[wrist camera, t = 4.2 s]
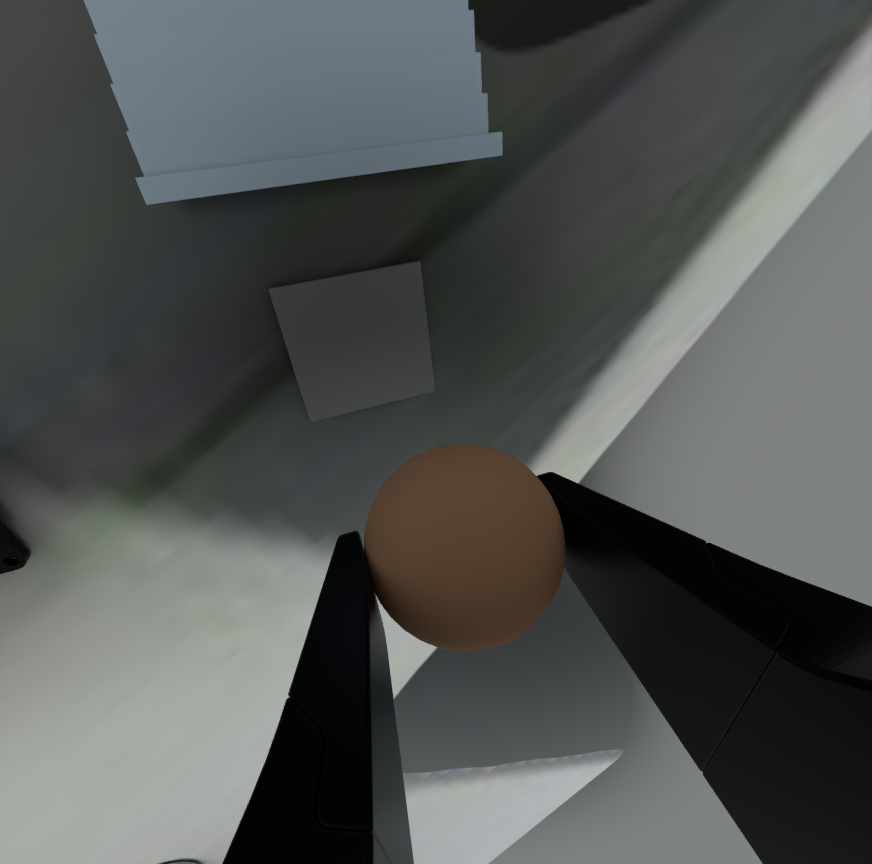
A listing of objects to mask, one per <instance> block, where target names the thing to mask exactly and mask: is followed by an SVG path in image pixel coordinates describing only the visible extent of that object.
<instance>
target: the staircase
mask: <svg viewBox="0 0 872 864" xmlns="http://www.w3.org/2000/svg"><path fill="white" fill-rule="evenodd" d="M84 2H85V5H86V7H87V10H88V12H89V15H90V17H91V20H92V22H93V25H94V27H95V30H96V32H97V34H94V36H95V39H96V41H97V44H98V46H99V49H100V51H101V54H102V56H103V59H104V61H105V64H106V66H107V68H108V71H109V73H110V76H111V78H112V81H113V83H114V84H110V85H111V87H112V90H113V92H114V95H115V97H116V100H117V102H118V105H119V107H120V109H121V112H122V114H123V117H124V119H125V122H126V124H127V127H128V129H129V131H126V133H127V136H128V138H129V140H130V143H131V145H132V148H133V150H134V153H135V155H136V157H137V160H138V162H139V165H140V167H141V170H142V172H143V174H144V177H139V178H135V179H136V181H137V183H138V186H139V188H140V191H141V193H142V195H143V198H144V200H145V202H146V205H149V204H156V203H163V202H170V201H178V200H185V199H192V198H199V197H207V196H214V195H221V194H228V193H235V192H243V191H250V190H257V189H264V188H271V187H279V186H286V185H293V184H300V183H307V182H315V181H322V180H329V179H336V178H343V177H351V176H358V175H365V174H372V173H380V172H387V171H394V170H401V169H408V168H416V167H423V166H430V165H437V164H444V163H452V162H459V161H466V160H473V159H480V158H488V157H495V156H502V155H503V151H502V132H494V133H488V99H487V93H483V94H482V78H481V52H477V53H475V31H474V10H468V0H84Z"/></svg>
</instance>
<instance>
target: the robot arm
mask: <svg viewBox="0 0 872 864" xmlns="http://www.w3.org/2000/svg"><path fill="white" fill-rule="evenodd" d="M537 477H538V479H539V480H540V481H541V482H542V483H543V485H544V486H545V487H546V489H547V490H548V492H549V493H550V495H551V496H552V498H553V500H554V503H555V505H556V507H557V509H558V512H559V514H560V518H561V521H562V525H563V530H564V537H565V563H564V569H565V570H566V572H567V573H568V575H569V576H570V578H571V579H572V581H573V582H574V584H575V585H576V587H577V588H578V590H579V591H580V593H581V594H582V596H583V597H584V599H585V600H586V602H587V603H588V605H589V606H590V608H591V609H592V611H593V612H594V614H595V615H596V617H597V618H598V620H599V621H600V623H601V624H602V626H603V627H604V628H605V630H606V631H607V633H608V634H609V636H610V637H611V639H612V640H613V642H614V643H615V645H616V646H617V648H618V649H619V651H620V652H621V654H622V655H623V657H624V658H625V660H626V661H627V663H628V664H629V666H630V667H631V668H632V670H633V671H634V673H635V674H636V676H637V677H638V679H639V680H640V682H641V683H642V685H643V686H644V687H645V689H646V691H647V692H648V694H649V695H650V697H651V698H652V700H653V701H654V703H655V704H656V705H657V707H658V708H659V710H660V711H661V713H662V714H663V716H664V717H665V719H666V720H667V722H668V723H669V725H670V726H671V727H672V729H673V731H674V732H675V733H676V735H677V737H678V738H679V739H680V741H681V742H682V744H683V745H684V747H685V749H686V750H687V751H688V753H689V754H690V756H691V757H692V759H693V760H694V762H695V763H696V765H697V766H698V768H699V769H700V770H701V771H702V772H703V776H704V777H705V779H706V780H707V782H708V783H709V785H710V786H711V788H712V789H713V790H714V792H715V793H716V795H717V796H718V798H719V799H720V801H721V802H722V804H723V805H724V807H725V808H726V810H727V811H728V813H729V814H730V816H731V817H732V819H733V820H734V822H735V823H736V825H737V826H738V828H739V829H740V831H741V832H742V833H743V835H744V836H745V838H746V839H747V841H748V842H749V844H750V845H751V847H752V848H753V850H754V851H755V853H756V854H757V856H758V857H759V859H760V860H761V862H762V863H763V864H872V607H871V606H868V605H866V604H863V603H860V602H858V601H855V600H852V599H850V598H847V597H844V596H842V595H839V594H836V593H834V592H831V591H828V590H826V589H823V588H820V587H818V586H815V585H812V584H809V583H807V582H804V581H801V580H799V579H796V578H793V577H791V576H788V575H786V574H783V573H781V572H778V571H775V570H773V569H770V568H768V567H765V566H762V565H760V564H758V563H755V562H753V561H751V560H748V559H746V558H744V557H741V556H739V555H737V554H734V553H732V552H730V551H727V550H725V549H723V548H720V547H718V546H716V545H714V544H712V543H706V541H704V540H702V539H700V538H698V537H696V536H693V535H691V534H688V533H687V532H685V531H682V530H680V529H678V528H676V527H674V526H671V525H669V524H667V523H665V522H662V521H660V520H658V519H656V518H653V517H651V516H649V515H647V514H645V513H642V512H640V511H638V510H636V509H633V508H631V507H629V506H627V505H625V504H622V503H620V502H618V501H616V500H613V499H611V498H609V497H607V496H605V495H602V494H600V493H598V492H596V491H593V490H591V489H589V488H587V487H585V486H582V485H580V484H578V483H576V482H573V481H571V480H569V479H567V478H565V477H562V476H560V475H558V474H556V473H553V472H548V473H544V474H541V475H538V476H537ZM10 557H14V558H16V559H13V558H10ZM29 558H30V553H29V551H28V550H27V549H26V547H25V546H24V545H23V544H22V543H21V542H20V541H19V540H18V539H17V538H16V537H15V536H14V535H13V533H12V532H11V531H10V530H9V529H8V528H7V527H6V526H5V525H4V524H3V523H2V521H1V520H0V574H3V573H6V572H10V571H13V570H17V569H20V568H22V567H23V566H24V565H25V564H26V563H27V561H28V559H29ZM288 695H289V697H290V698H287V699H286V702H285V705H284V708H283V712H282V715H281V718H280V721H279V724H278V727H277V730H276V733H275V735H274V738H273V741H272V744H271V747H270V750H269V753H268V756H267V758H266V761H265V763H264V766H263V768H262V771H261V773H260V776H259V778H258V781H257V783H256V786H255V788H254V791H253V793H252V796H251V798H250V800H249V803H248V805H247V807H246V810H245V812H244V814H243V817H242V819H241V821H240V824H239V826H238V828H237V831H236V833H235V835H234V838H233V840H232V842H231V845H230V847H229V849H228V852H227V854H226V856H225V859H224V861H223V863H222V864H414V861H413V853H412V845H411V837H410V829H409V821H408V813H407V805H406V797H405V789H404V781H403V773H402V764H401V758H400V757H401V756H400V749H399V740H398V732H397V724H396V716H395V708H394V700H393V692H392V684H391V676H390V668H389V660H388V652H387V644H386V637H385V631H384V627H383V622H382V618H381V614H380V610H379V606H378V602H377V598H376V594H375V592H374V590H373V587H372V583H371V579H370V576H369V572H368V568H367V564H366V560H365V555H364V549H363V545H362V542H361V538H360V535H359V532H358V531H353V532H350V533H346V534H343V535H340V536H339V537H338V539H337V542H336V545H335V548H334V551H333V555H332V558H331V561H330V564H329V567H328V570H327V574H326V577H325V580H324V583H323V586H322V589H321V592H320V596H319V599H318V602H317V605H316V608H315V611H314V614H313V618H312V621H311V624H310V627H309V630H308V633H307V637H306V640H305V643H304V646H303V649H302V652H301V655H300V659H299V662H298V665H297V668H296V671H295V674H294V677H293V681H292V684H291V687H290V690H289V693H288Z"/></svg>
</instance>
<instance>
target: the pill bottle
mask: <svg viewBox="0 0 872 864" xmlns="http://www.w3.org/2000/svg"><path fill="white" fill-rule="evenodd" d="M168 864H197V863H194V862H173V863H168Z"/></svg>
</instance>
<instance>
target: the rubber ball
mask: <svg viewBox="0 0 872 864" xmlns="http://www.w3.org/2000/svg"><path fill="white" fill-rule="evenodd" d="M364 555H365V560H366V564H367V568H368V572H369V576H370V579H371V583H372V587H373V590H374V592H375V594H376V596H377V598H378V600H379V601H380V603H381V604H382V606H383V607H384V609H385V610H386V611H387V613H388V614H389V615H390V617H391V618H392V619H393V620H394V621H396V622H397V623H398V624H399V625H400V626H401V627H402V628H403V629H404V630H405V631H407V632H409V633H410V634H412V635H413V636H415V637H416V638H418V639H419V640H421V641H424V642H426V643H428V644H431V645H433V646H436V647H439V648H444V649H448V650H455V651H478V650H485V649H490V648H494V647H496V646H499V645H502V644H504V643H507V642H508V641H511V640H513V639H514V638H516V637H518V636H519V635H521V634H522V633H524V632H525V631H526V630H528V629H529V628H530V627H531V626H532V625H533V624H535V622H536V621H537V620H538V619H539V618H540V617H541V615H542V614H543V613H544V612H545V610H546V609H547V608H548V606H549V605H550V603H551V602H552V600H553V598H554V595H555V593H556V591H557V589H558V587H559V584H560V581H561V577H562V573H563V569H564V563H565V537H564V530H563V525H562V521H561V518H560V514H559V512H558V509H557V507H556V505H555V503H554V500H553V498H552V496H551V495H550V493H549V492H548V490H547V489H546V487H545V486H544V485H543V483H542V482H541V481H540V480H539V479H538V477H537V476H536V475H535V474H534V473H533V472H532V471H531V470H530V469H529V468H528V467H526V466H525V465H523V464H522V463H520V462H519V461H518V460H516V459H515V458H513V457H511V456H509V455H507V454H505V453H503V452H501V451H499V450H496V449H493V448H489V447H485V446H481V445H474V444H454V445H445V446H441V447H436V448H433V449H430V450H427V451H425V452H423V453H421V454H419V455H417V456H415V457H413V458H412V459H410V460H409V461H407V462H406V463H404V464H403V465H402V466H401V467H400V468H398V469H397V470H396V471H395V472H394V473H393V474H392V475H391V477H390V478H389V479H388V480H387V481H386V482H385V484H384V485H383V486H382V488H381V489H380V491H379V493H378V494H377V496H376V498H375V500H374V503H373V505H372V507H371V510H370V512H369V515H368V519H367V524H366V529H365V536H364Z"/></svg>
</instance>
